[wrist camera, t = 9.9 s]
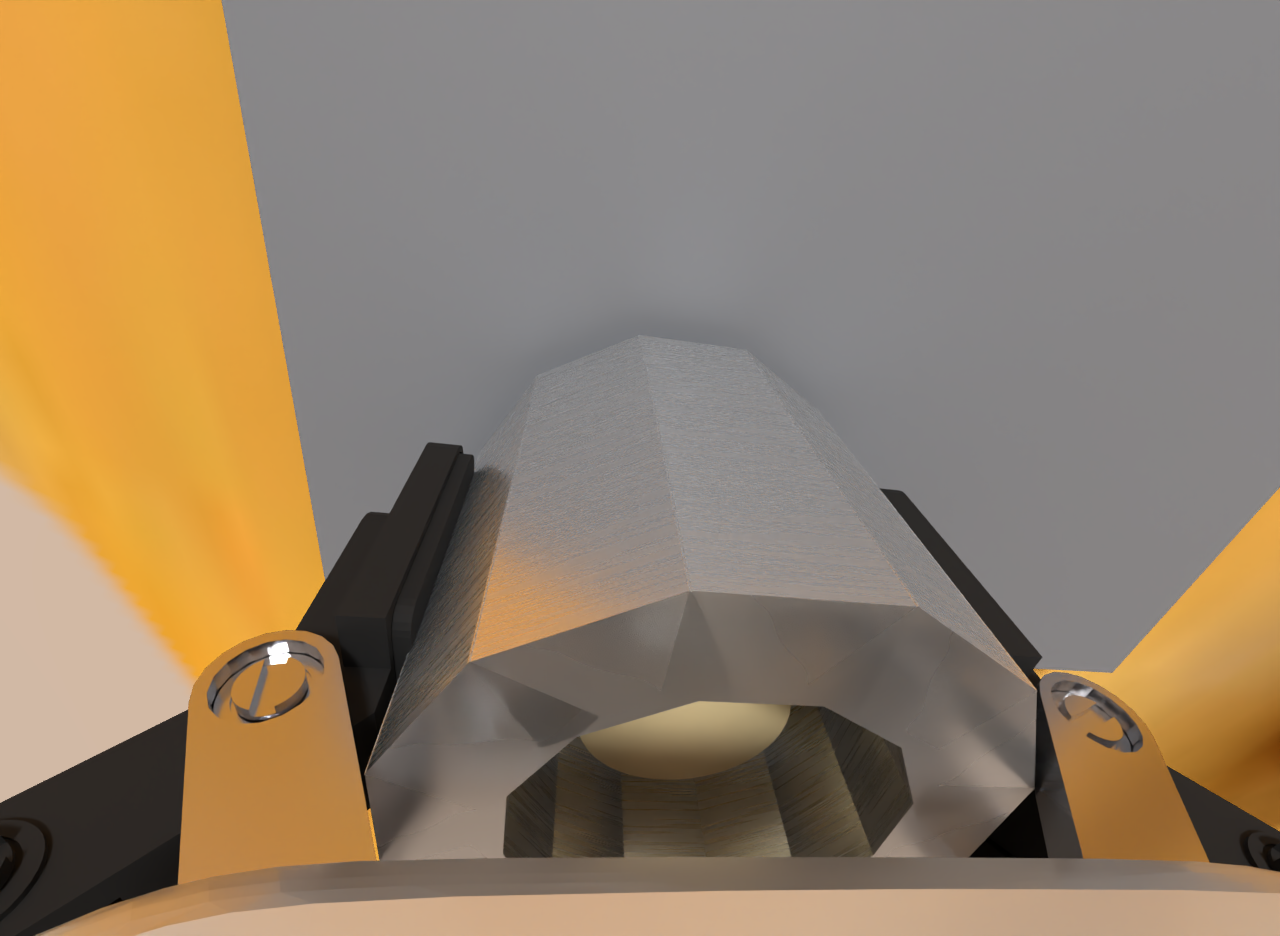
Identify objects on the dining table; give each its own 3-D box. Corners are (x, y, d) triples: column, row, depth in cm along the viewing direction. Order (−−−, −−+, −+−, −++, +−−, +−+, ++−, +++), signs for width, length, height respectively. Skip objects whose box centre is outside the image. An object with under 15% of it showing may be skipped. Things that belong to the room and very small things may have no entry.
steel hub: (883, 367, 10) (1191, 625, 5) (773, 637, 13) (881, 949, 8) (481, 312, 9) (326, 564, 4) (478, 619, 12) (396, 960, 7)
